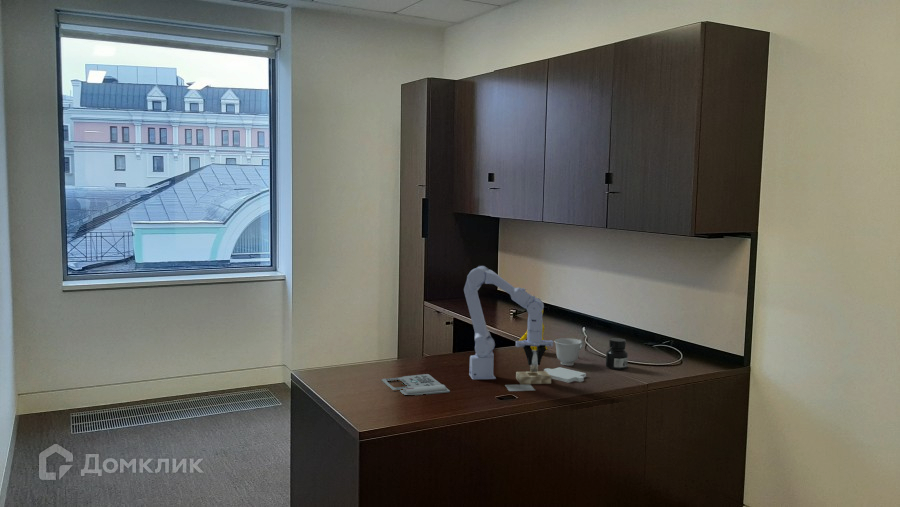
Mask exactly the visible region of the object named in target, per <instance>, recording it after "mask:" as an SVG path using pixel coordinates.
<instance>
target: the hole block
mask: <svg viewBox="0 0 900 507" xmlns="http://www.w3.org/2000/svg"><path fill="white" fill-rule="evenodd" d="M515 379H516V380H517V382H518V383H519V385H522V384H530V385H542V384H543V385H544V384H545V385H548V384H552V378H551V376H550V375H549V374H548V373H547V372H546V371H544V370H538V372H531V371H530V370H529V371H527V370H526V371H516V372H515Z"/></svg>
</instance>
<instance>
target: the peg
mask: <svg viewBox="0 0 900 507" xmlns="http://www.w3.org/2000/svg"><path fill="white" fill-rule="evenodd" d="M529 366H530V367H529V371H531V372H538V371H539V365H538V350H532V353H531V365H529Z"/></svg>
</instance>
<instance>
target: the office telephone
mask: <svg viewBox="0 0 900 507" xmlns="http://www.w3.org/2000/svg"><path fill="white" fill-rule="evenodd" d="M393 380H400V381H402V382H403V383H404V384H405V385H407V386H405V385H404V384H403V383H402V384H403V385H404V386H397V387H396V386H395V387H394V386H393V385H391V384H390V382H387V381H393ZM382 381H383V382H384V383H385V384H386V385H387V386H388V387H390V388H391V389H392V390H400V391H399V393H400V392H401V393H402V394H404V395H415V396H424V395H423V394H426V395H436V394H437V395H438V394H444V393H445V394H446V393H450V392H451V390H450V389H448V388H447V386H446V385H445V384H442V383H440V382H439V381H438V380H437V379H435V378H434V377H433V376H432V375H431V374H428V373H426V374H425V373H423V374H414V375H404V376H400V377H392V378H382V379H381V382H382ZM400 381H399V382H400ZM383 382H382V383H383ZM384 383H383V384H384ZM385 384H384V385H385ZM386 385H385V386H386ZM387 386H386V387H387ZM388 387H387V388H388ZM401 389H403V390H401ZM392 390H391V391H392ZM401 393H400V394H401ZM402 394H401V395H402Z"/></svg>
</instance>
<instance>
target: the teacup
mask: <svg viewBox="0 0 900 507" xmlns="http://www.w3.org/2000/svg"><path fill="white" fill-rule="evenodd" d="M553 343H554V344H555V351H556V357H557V360H559V361H560V365H562V366H574V365H575V362H576V361H578V358H579V356H580V355H579V354H580V351H581V350H582V349H583V347H584V341H583V339H577V338H572V337H571V338H567V337H565V338H564V337H561V338H556V339H554V340H553Z"/></svg>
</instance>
